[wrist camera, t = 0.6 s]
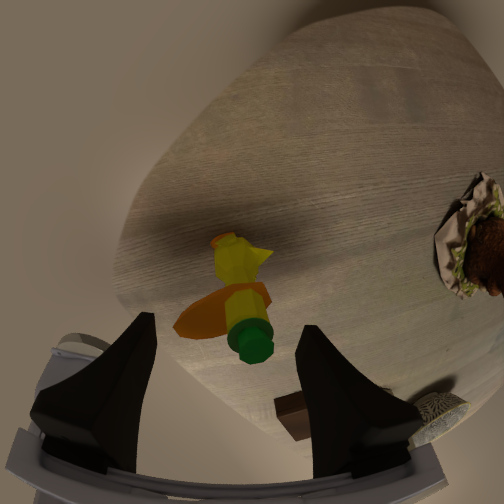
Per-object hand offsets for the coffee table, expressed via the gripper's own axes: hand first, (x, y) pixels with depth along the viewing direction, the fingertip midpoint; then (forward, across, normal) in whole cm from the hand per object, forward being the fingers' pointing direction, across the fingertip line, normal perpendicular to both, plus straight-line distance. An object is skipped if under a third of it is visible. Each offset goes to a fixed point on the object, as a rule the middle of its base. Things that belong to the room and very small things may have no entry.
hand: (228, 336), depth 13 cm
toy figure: (+10, 0, 0) cm, 11 cm away
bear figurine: (+11, -28, -4) cm, 30 cm away
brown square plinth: (+10, -13, +24) cm, 29 cm away
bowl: (+11, -40, +30) cm, 51 cm away
